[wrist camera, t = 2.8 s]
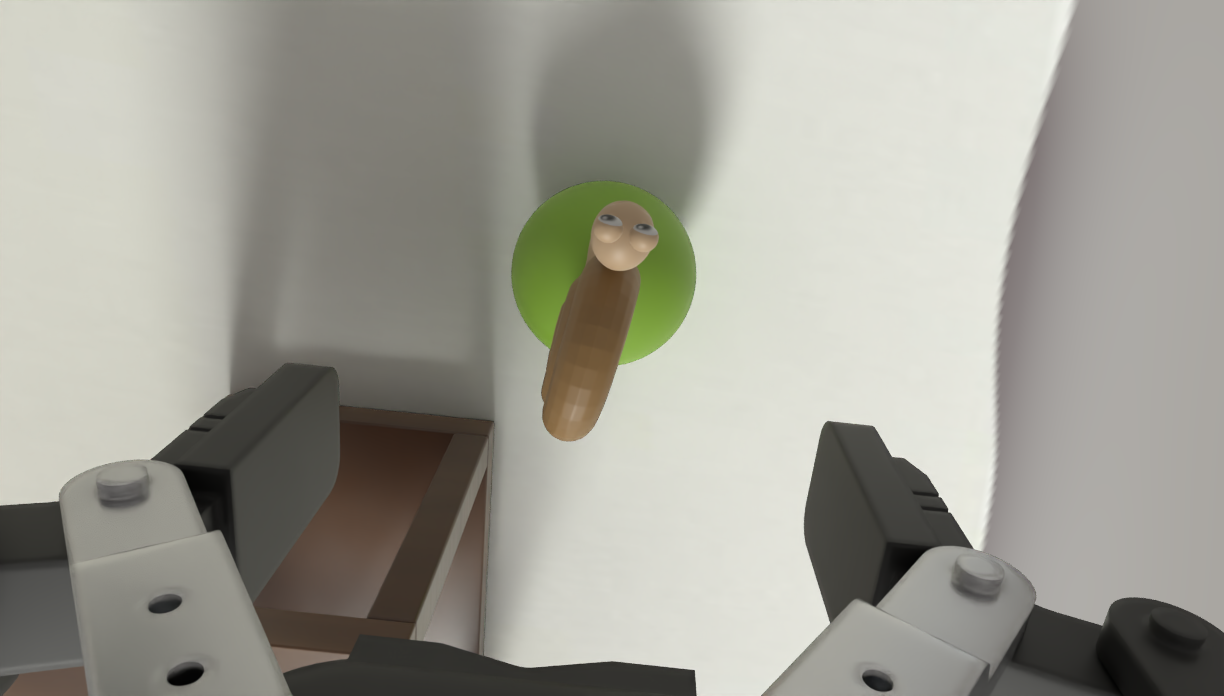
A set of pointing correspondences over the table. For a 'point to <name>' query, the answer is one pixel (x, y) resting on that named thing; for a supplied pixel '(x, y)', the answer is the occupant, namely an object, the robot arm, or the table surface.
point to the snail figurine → (599, 291)
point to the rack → (375, 548)
